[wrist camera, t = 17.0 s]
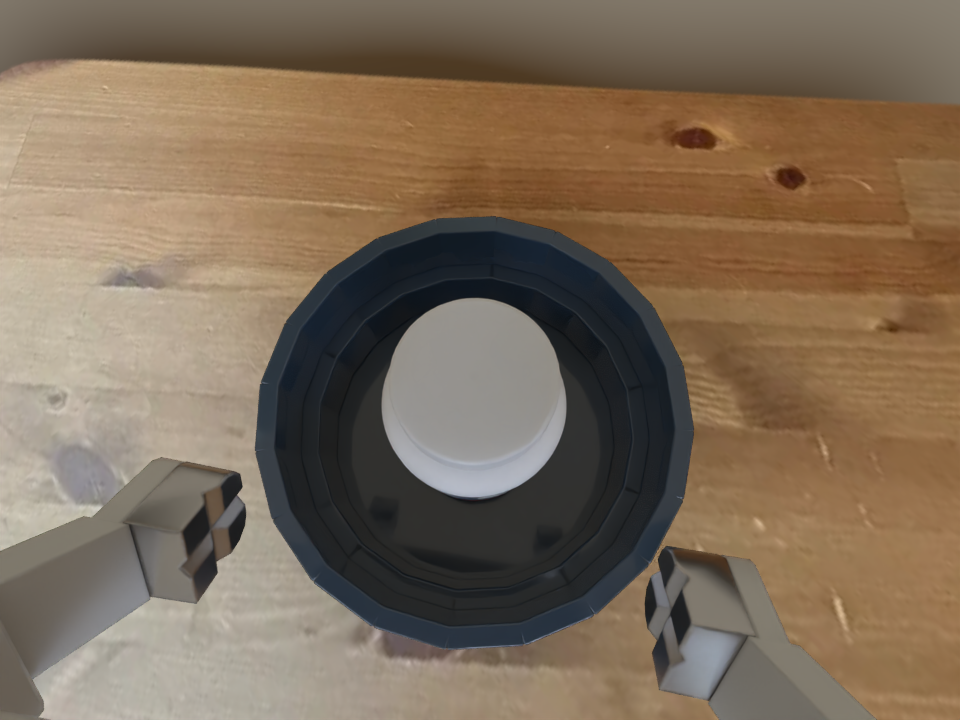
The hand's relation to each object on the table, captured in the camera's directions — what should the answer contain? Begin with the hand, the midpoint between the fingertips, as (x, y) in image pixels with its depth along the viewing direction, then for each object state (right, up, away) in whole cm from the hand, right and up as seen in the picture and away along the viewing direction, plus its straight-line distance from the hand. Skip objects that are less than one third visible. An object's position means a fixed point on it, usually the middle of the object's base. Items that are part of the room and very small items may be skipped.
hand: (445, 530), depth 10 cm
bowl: (0, 0, +11) cm, 11 cm away
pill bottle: (0, 0, +11) cm, 11 cm away
